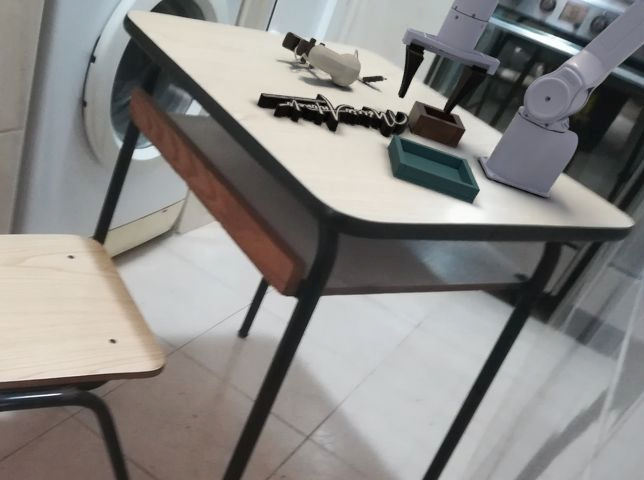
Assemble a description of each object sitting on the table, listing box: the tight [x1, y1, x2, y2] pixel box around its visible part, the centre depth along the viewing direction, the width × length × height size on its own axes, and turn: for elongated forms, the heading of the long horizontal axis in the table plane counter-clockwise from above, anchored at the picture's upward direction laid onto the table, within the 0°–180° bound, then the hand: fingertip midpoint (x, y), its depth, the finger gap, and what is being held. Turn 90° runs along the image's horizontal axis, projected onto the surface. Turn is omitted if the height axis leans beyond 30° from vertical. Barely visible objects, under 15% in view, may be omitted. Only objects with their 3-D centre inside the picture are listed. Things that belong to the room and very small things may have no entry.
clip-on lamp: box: [281, 31, 388, 87], centre depth 115 cm, size 12×6×18 cm
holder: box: [387, 134, 481, 204], centre depth 92 cm, size 11×11×2 cm
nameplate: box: [256, 92, 409, 138], centre depth 100 cm, size 27×2×10 cm
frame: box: [407, 100, 467, 149], centre depth 107 cm, size 8×7×3 cm
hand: (423, 104), depth 106 cm, fingers open, 7 cm apart
